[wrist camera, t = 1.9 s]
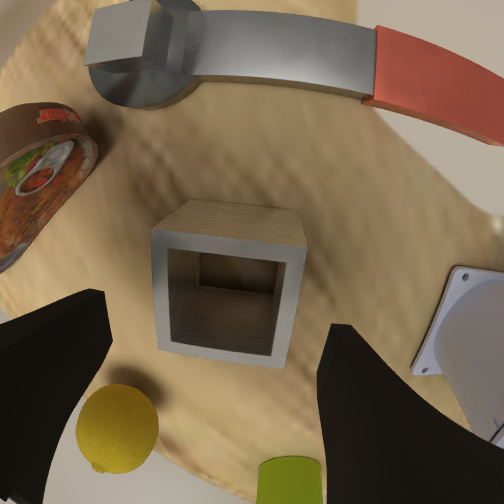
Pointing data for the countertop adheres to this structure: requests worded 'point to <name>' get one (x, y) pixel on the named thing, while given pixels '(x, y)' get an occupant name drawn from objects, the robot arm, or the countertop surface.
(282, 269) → the socket
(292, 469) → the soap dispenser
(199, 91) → the countertop surface
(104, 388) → the lemon
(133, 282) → the countertop surface
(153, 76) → the ratchet
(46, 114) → the tin
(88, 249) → the countertop surface
